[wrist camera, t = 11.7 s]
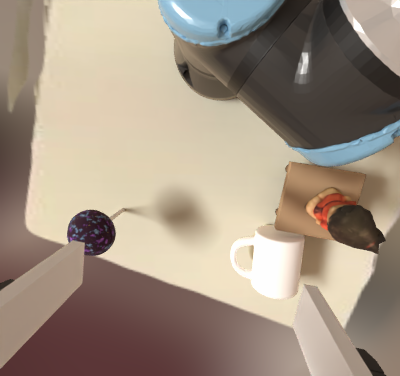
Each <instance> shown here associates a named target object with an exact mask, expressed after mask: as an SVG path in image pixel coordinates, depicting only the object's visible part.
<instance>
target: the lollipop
mask: <svg viewBox="0 0 400 376" xmlns="http://www.w3.org/2000/svg"><path fill="white" fill-rule="evenodd" d="M124 211H125V209H124V208H122V209H121V210H119V211H118V212H117V213H115V214H114V215H112V216H111V217H110V218H109V217H108V216H107V215H105V214H104V213H102V212H100V211H97V210H85V211H82V212H80V213H78V214H77V215H75V216H74V217H73V218H72V220H71V221H70V223H69V226H68V232H67V238H68V242H69V243H70V242H71V241H78V242H83V243H85V247H84V255H90V256H96V255H100V254H102V253H104V252H106V251H107V250H108V249H109V248H110V247H111V246H112V244H113V243H114V240H115V235H116V232H115V227H114V224H113V222H112V220H113V219H115V218H116V217H117V216H118V215H120V214H121V213H122V212H124Z"/></svg>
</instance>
